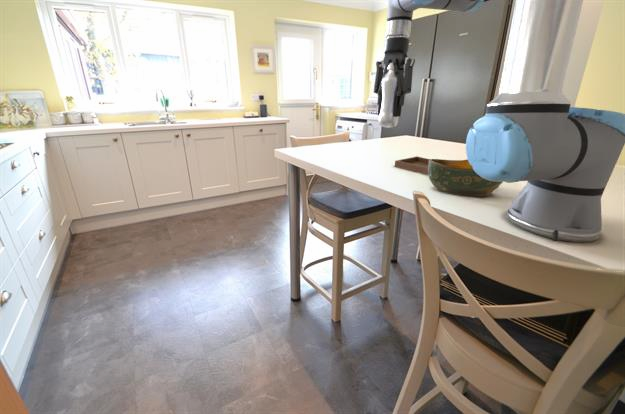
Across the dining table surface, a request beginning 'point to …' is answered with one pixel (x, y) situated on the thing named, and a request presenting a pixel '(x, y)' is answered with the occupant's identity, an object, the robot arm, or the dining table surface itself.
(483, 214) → the dining table surface
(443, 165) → the green patterned bowl
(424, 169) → the tray
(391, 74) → the plastic bottle
